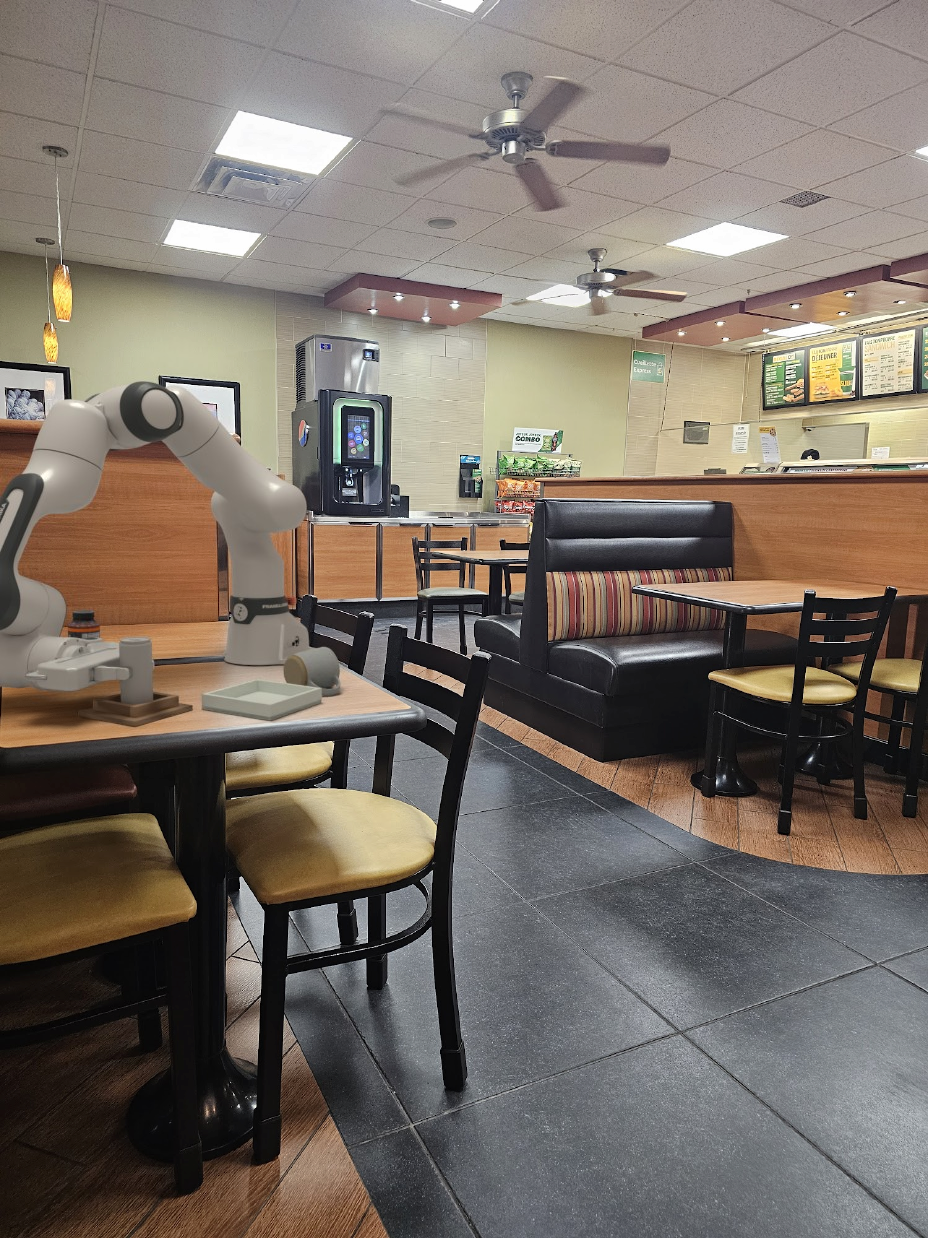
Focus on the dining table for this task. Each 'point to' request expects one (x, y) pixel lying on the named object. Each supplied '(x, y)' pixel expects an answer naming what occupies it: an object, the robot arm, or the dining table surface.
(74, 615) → the supplement bottle
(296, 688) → the tray
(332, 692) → the ceramic mug
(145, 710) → the walnut collar
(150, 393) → the robot arm
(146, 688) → the beverage can
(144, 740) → the dining table surface
